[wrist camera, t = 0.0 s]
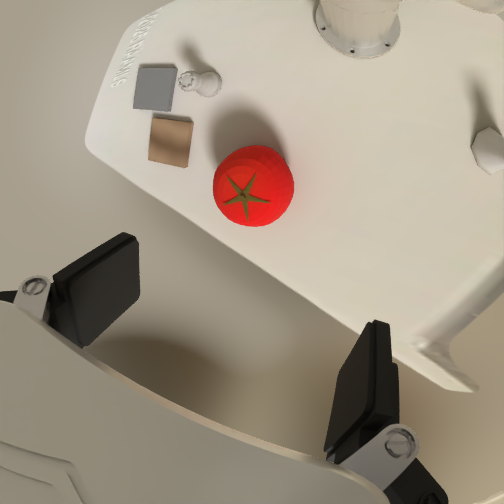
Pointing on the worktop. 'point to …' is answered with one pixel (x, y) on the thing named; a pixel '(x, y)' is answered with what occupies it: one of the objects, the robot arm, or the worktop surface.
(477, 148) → the flask
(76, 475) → the robot arm
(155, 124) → the walnut coaster
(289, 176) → the tomato
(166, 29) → the worktop surface
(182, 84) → the rook chess piece
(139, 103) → the charcoal coaster
